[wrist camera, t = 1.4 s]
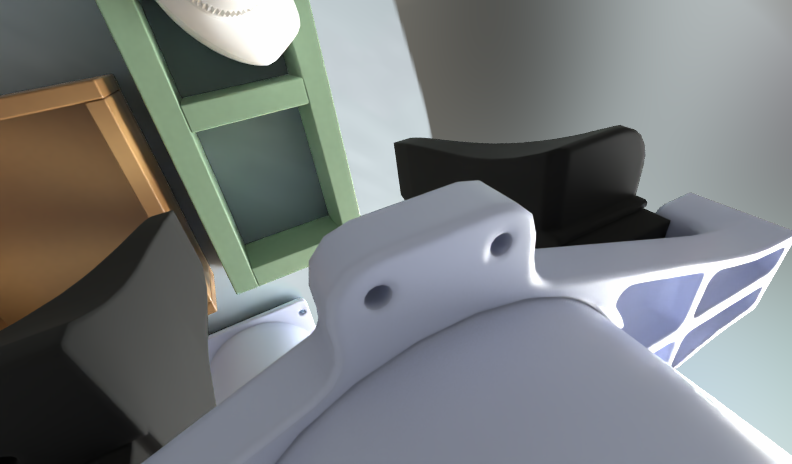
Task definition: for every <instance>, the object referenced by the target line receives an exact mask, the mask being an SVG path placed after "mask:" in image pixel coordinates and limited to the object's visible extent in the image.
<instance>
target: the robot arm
mask: <svg viewBox="0 0 792 464" xmlns="http://www.w3.org/2000/svg"><path fill="white" fill-rule="evenodd" d="M394 148H395V155H396V162H397V169H398V177H399V184H400V191H401V195H402V197H403V198H404V199H405V201H402V202H399V203H396V204H393V205H391V206H388V207H385V208H382V209H379V210H377V211H374V212H371V213H368V214H365V215H363V216H360V217H357V218H354V219H351V220H349V221H347V222H346V223H344V224H343V225H341V226H339V227H338V228H336V229H335V230H333V231H332V232H330V233H328V234H327V235H325V236H324V237H323V239H322V240H321V242H320V243H319V245H318V247H317V248H316V250H315V251H314V253H313V255H312V256H311V258H310V260H309V287H310V290H311V293H312V296H313V299H314V302H315V305H316V307H317V313H318V322H317V326H316V327H315V324H314V321H313V319H312V316H311V313H310V310H309V308H308V305H307V302H306V301H305V299H303V298H297V299H295V300H292V301H290V302H288V303H285V304H283V305H280V306H278V307H276V308H273V309H271V310H268V311H266V312H264V313H261V314H259V315H256V316H254V317H252V318H249V319H247V320H245V321H242V322H240V323H237V324H235V325H233V326H230V327H228V328H225V329H223V330H221V331H218V332H216V333H213V334H211V335H209V336H208V300H207V285H206V280H205V275H204V270H203V265H202V263H201V261H200V259H199V257H198V255H197V253H196V251H195V250H194V248H193V246H192V244H191V242H190V240H189V238H188V237H187V235H186V233H185V231H184V229H183V227H182V226H181V224H180V222H179V220H178V218H177V216H176V214H175V213H174V211H173V210H171V211H168V212H164V213H161V214H158V215H154V216H151V217H149V218H148V219H146V220H145V221H144V222H143V223H142V224H140V225H139V226H138V227H137V228H136V229H135V230H134V231H133V232H132V233H131V234H130V235H129V236H128V237H127V238H126V239H125V240H124V241H123V242H122V243H121V244H120V245H119V246H118V247H117V248H116V249H115V250H114V251H113V252H112V253H111V254H109V255H108V256H107V257H106V258H105V259H104V260H103V261H102V262H101V263H99V264H98V265H97V266H96V267H95V268H94V269H93V270H92V271H90V272H89V273H88V274H87V275H85V276H84V277H83V278H82V279H80V280H79V281H78V282H76V283H75V284H74V285H72V286H71V287H70V288H68V289H67V290H65V291H64V292H63V293H61V294H60V295H58V296H57V297H55V298H54V299H52V300H51V301H49V302H47V303H46V304H44V305H43V306H41V307H39V308H38V309H36V310H35V311H33V312H31V313H30V314H28V315H27V316H25V317H23V318H22V319H20V320H19V321H17V322H15V323H13V324H12V325H10V326H8V327H6V328H4V329H2V330H1V331H0V464H792V456H791V455H789V454H788V453H787V452H785V451H784V450H783V449H781V448H780V447H779V446H777V445H776V444H775V443H773V442H772V441H771V440H769V439H768V438H766V437H765V436H764V435H763V434H761V433H760V432H758V431H757V430H756V429H755V428H753V427H752V426H750V425H749V424H748V423H746V422H745V421H744V420H742V419H741V418H740V417H738V416H737V415H736V414H734V413H733V412H732V411H730V410H729V409H728V408H726V407H725V406H724V405H722V404H721V403H720V402H718V401H717V400H715V399H714V398H713V397H712V396H710V395H709V394H707V393H706V392H705V391H704V390H702V389H701V388H699V387H698V386H697V385H695V384H694V383H693V382H691V381H690V380H689V379H687V378H686V377H685V376H683V375H682V374H681V373H679V372H678V371H676V370H675V369H676V368H677V367H679V366H680V365H681V364H682V363H684V362H685V361H686V360H687V359H688V358H689V357H690V356H692V355H693V354H694V353H695V352H697V351H698V350H699V349H700V348H702V347H703V346H704V345H705V344H706V343H708V342H709V341H710V340H711V339H712V338H714V337H715V336H717V335H718V334H719V333H721V332H722V331H723V330H725V329H726V328H727V327H729V326H730V325H731V324H733V323H734V322H736V321H737V320H739V319H740V318H741V317H743V316H744V315H746V314H747V313H749V312H750V311H752V310H753V309H754V308H755V307H756V305H757V303H758V302H759V300H760V298H761V296H762V295H763V293H764V291H765V290H766V288H767V286H768V284H769V283H770V281H771V279H772V277H773V276H774V274H775V272H776V270H777V268H778V267H779V265H780V263H781V262H782V260H783V258H784V256H785V255H786V253H787V251H788V249H789V248H790V246H791V244H792V230H790V229H788V228H785V227H783V226H780V225H777V224H774V223H772V222H769V221H766V220H764V219H761V218H758V217H756V216H753V215H750V214H748V213H745V212H742V211H739V210H737V209H734V208H731V207H729V206H726V205H723V204H721V203H718V202H715V201H712V200H710V199H707V198H704V197H701V196H699V195H696V194H694V193H688V194H685V195H683V196H681V197H679V198H677V199H674V200H672V201H670V202H668V203H666V204H664V205H663V206H662V207H660V208H659V209H658V210H657V212H656V213H653V212H650V211H648V210H646V209H644V207H646V205H647V201H646V200H645V199H643V198H641V197H638V196H636V192H637V188H638V184H639V181H640V177H641V173H642V168H643V165H644V159H645V145H644V141H643V139H642V136H641V135H640V134H639V133H638V132H637V131H636V130H634V129H631V128H627V127H624V126H621V125H618V126H613V127H609V128H604V129H600V130H596V131H592V132H588V133H584V134H579V135H575V136H569V137H563V138H557V139H552V140H544V141H534V142H524V143H505V144H504V143H500V144H489V143H469V142H458V141H449V140H440V139H430V138H409V139H405V140H402V141H399V142H395V143H394ZM301 309H304V311H303V312H299V311H300V310H301Z"/></svg>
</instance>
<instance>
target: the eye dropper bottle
mask: <svg viewBox="0 0 792 464" xmlns="http://www.w3.org/2000/svg"><path fill="white" fill-rule="evenodd" d="M155 1H156V2H157V3H158V5H159V6H160V7H161V8H162V9H163V10H164V11H165V13H166V14H167V15H168V16H169V17H170V18H171V19H172V20H173V21H174V22H175V23H176V24H177V25H178V26H180V27H181V28H182V29H183V30H184V31H185V32H187V33H188V34H189V35H190V36H192V37H193V38H194V39H196V40H197V41H198V42H200V43H202V44H203V45H205V46H206V47H208V48H210V49H211V50H213V51H215V52H217V53H219V54H221V55H223V56H225V57H227V58H230V59H233V60H235V61H239V62H242V63H247V64H252V65H269V64H271V63H273V62H274V61H276V60H277V59H278V58H279V57H280V55H281V54H282V53H283V52H284V51H285V49H286V48H287V47H288V46H289V44H290V43H291V42H292V41H293V39H294V38H295V36H296V35H297V33H298V30H299V27H300V19H299V14H298V11H297V8H296V5H295V3H294V1H293V0H155Z"/></svg>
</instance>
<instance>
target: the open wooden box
mask: <svg viewBox="0 0 792 464" xmlns="http://www.w3.org/2000/svg"><path fill="white" fill-rule="evenodd" d="M171 210H173V211H174V213H175V214H176V216H177V218H178V220H179V222H180V224H181V226H182V227H183V229H184V231H185V233H186V235H187V237H188V238H189V240H190V242H191V244H192V246H193V248H194V250H195V251H196V253H197V255H198V257H199V259H200V261H201V263H202V265H203V270H204V275H205V280H206V285H207V300H208V315H209V314H212V313H214V312H217V304H216V294H215V284H214V274H213V272H212V270H211V268H210V266H209V264H208V262H207V260H206V258H205V256H204V254H203V252H202V250H201V248H200V246H199V244H198V242H197V240H196V238H195V236H194V234H193V232H192V230H191V228H190V226H189V224H188V222H187V220H186V218H185V216H184V214H183V213H182V211H181V209H180V207H179V205H178V203H177V201H176V199H175V197H174V195H173V193H172V191H171V189H170V187H169V185H168V183H167V181H166V179H165V177H164V175H163V173H162V171H161V169H160V167H159V165H158V163H157V161H156V159H155V157H154V155H153V153H152V151H151V149H150V147H149V145H148V143H147V141H146V139H145V137H144V135H143V133H142V131H141V129H140V127H139V125H138V123H137V121H136V119H135V117H134V115H133V113H132V111H131V109H130V107H129V105H128V103H127V101H126V99H125V97H124V95H123V93H122V91H121V89H120V87H119V85H118V83H117V82H116V80H115V78H114V76H113V74H107V75H102V76H97V77H92V78H87V79H82V80H77V81H72V82H67V83H61V84H56V85H51V86H46V87H41V88H36V89H31V90H26V91H20V92H15V93H10V94H5V95H0V331H1V330H2V329H4V328H6V327H8V326H10V325H12V324H13V323H15V322H17V321H19V320H20V319H22V318H23V317H25V316H27V315H28V314H30V313H31V312H33V311H35V310H36V309H38V308H39V307H41V306H43V305H44V304H46V303H47V302H49V301H51V300H52V299H54V298H55V297H57V296H58V295H60V294H61V293H63V292H64V291H65V290H67V289H68V288H70V287H71V286H72V285H74V284H75V283H76V282H78V281H79V280H80V279H82V278H83V277H84V276H85V275H87V274H88V273H89V272H90V271H92V270H93V269H94V268H95V267H96V266H97V265H98V264H99V263H101V262H102V261H103V260H104V259H105V258H106V257H107V256H108V255H109V254H111V253H112V252H113V251H114V250H115V249H116V248H117V247H118V246H119V245H120V244H121V243H122V242H123V241H124V240H125V239H126V238H127V237H128V236H129V235H130V234H131V233H132V232H133V231H134V230H135V229H136V228H137V227H138V226H139V225H140V224H142V223H143V222H144V221H145V220H146V219H148V218H149V217H151V216H154V215H158V214H161V213H164V212H168V211H171Z"/></svg>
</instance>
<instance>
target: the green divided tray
mask: <svg viewBox="0 0 792 464" xmlns="http://www.w3.org/2000/svg"><path fill="white" fill-rule="evenodd" d="M293 1H294V3H295V5H296V8H297V11H298V14H299V19H300V27H299V30H298V33H297V35H296V36H295V38H294V39H293V41H292V42H291V43H290V44H289V46H288V47H287V48H286V49H285V51H284V52H283V57H284V60H285V63H286V67H287V70H288V74H289V75H288V74H286V75H282V76H278V77H273V78H269V79H264V80H260V81H255V82H251V83H246V84H242V85H238V86H233V87H229V88H224V89H220V90H215V91H211V92H206V93H202V94H198V95H193V96H189V97H184V98H182V99H181V96H180V94H179V92H178V89H177V87H176V85H175V82H174V80H173V78H172V76H171V73H170V71H169V69H168V66H167V64H166V62H165V59H164V57H163V55H162V52H161V50H160V48H159V45H158V43H157V41H156V38H155V36H154V34H153V32H152V29H151V27H150V25H149V22H148V20H147V18H146V15H145V13H144V11H143V8H142V6H141V4H140V1H139V0H95V2H96V4H97V6H98V8H99V10H100V12H101V14H102V16H103V18H104V20H105V22H106V24H107V27H108V29H109V31H110V33H111V35H112V37H113V39H114V41H115V43H116V45H117V47H118V49H119V51H120V54H121V56H122V58H123V60H124V62H125V64H126V66H127V68H128V70H129V72H130V74H131V76H132V78H133V81H134V83H135V85H136V87H137V89H138V91H139V93H140V95H141V97H142V99H143V101H144V103H145V105H146V107H147V110H148V112H149V114H150V116H151V118H152V120H153V122H154V124H155V126H156V128H157V130H158V132H159V134H160V137H161V139H162V141H163V143H164V145H165V147H166V149H167V151H168V153H169V155H170V157H171V159H172V161H173V164H174V166H175V168H176V170H177V172H178V174H179V176H180V178H181V180H182V182H183V184H184V186H185V188H186V190H187V193H188V195H189V197H190V199H191V201H192V203H193V205H194V207H195V209H196V211H197V213H198V215H199V217H200V220H201V222H202V224H203V226H204V228H205V230H206V232H207V234H208V236H209V238H210V240H211V242H212V244H213V247H214V249H215V251H216V253H217V255H218V257H219V259H220V261H221V263H222V265H223V267H224V269H225V271H226V273H227V276H228V278H229V280H230V282H231V284H232V286H233V288H234V290H235V292H236V294H237V295H238V294H240V293H243V292H246V291H248V290H251V289H253V288H256V287H258V285H259V286H261V285H263V284H266V283H268V282H271V281H274V280H276V279H279V278H281V277H284V276H286V275H289V274H291V273H294V272H296V271H299V270H301V269H304V268H306V267H309V260H310V258H311V256H312V255H313V253H314V251H315V250H316V248H317V247H318V245H319V243H320V242H321V240H322V239H323V237H324V236H325V235H327V234H328V233H330V232H332V231H333V230H335V229H336V228H338V227H339V226H341V225H343V224H344V223H346V222H347V221H349V220H351V219H354V218H357V217H360V211H359V207H358V203H357V199H356V195H355V190H354V186H353V182H352V178H351V174H350V169H349V165H348V161H347V157H346V153H345V148H344V144H343V140H342V136H341V132H340V127H339V123H338V119H337V115H336V111H335V107H334V102H333V98H332V94H331V90H330V86H329V81H328V77H327V73H326V69H325V65H324V60H323V56H322V52H321V48H320V44H319V39H318V35H317V31H316V27H315V23H314V18H313V14H312V10H311V6H310V2H309V0H293ZM297 106H298V109H299V112H300V116H301V119H302V123H303V126H304V130H305V133H306V137H307V140H308V144H309V147H310V151H311V154H312V158H313V161H314V165H315V168H316V172H317V175H318V179H319V182H320V186H321V189H322V193H323V196H324V200H325V203H326V207H327V210H328V214H329V215H327V216H324V217H321V218H319V219H316V220H313V221H310V222H307V223H305V224H302V225H299V226H296V227H293V228H291V229H288V230H285V231H282V232H279V233H277V234H274V235H271V236H268V237H265V238H263V239H260V240H257V241H254V242H251V243H248V244H246V245H244V242H243V240H242V238H241V235H240V233H239V231H238V228H237V226H236V224H235V221H234V219H233V217H232V215H231V212H230V210H229V208H228V205H227V203H226V201H225V198H224V196H223V194H222V191H221V189H220V187H219V184H218V182H217V180H216V177H215V175H214V173H213V171H212V168H211V166H210V164H209V161H208V159H207V157H206V154H205V152H204V150H203V147H202V145H201V143H200V140H199V138H198V136H197V133H196V132H199V131H203V130H207V129H211V128H215V127H218V126H222V125H226V124H230V123H234V122H238V121H242V120H246V119H250V118H254V117H258V116H262V115H266V114H270V113H274V112H277V111H281V110H285V109H289V108H293V107H297Z"/></svg>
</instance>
